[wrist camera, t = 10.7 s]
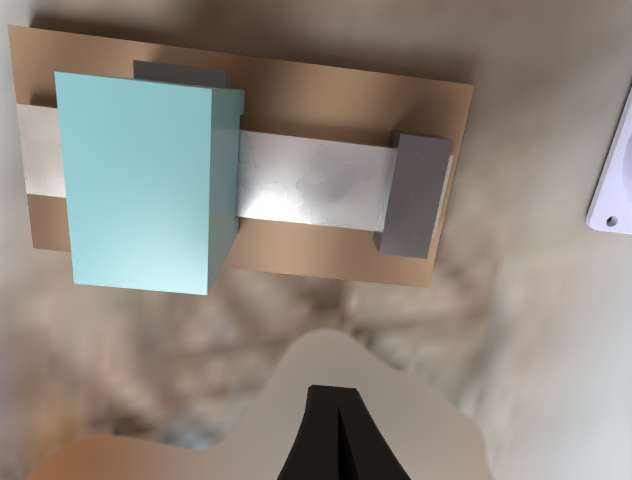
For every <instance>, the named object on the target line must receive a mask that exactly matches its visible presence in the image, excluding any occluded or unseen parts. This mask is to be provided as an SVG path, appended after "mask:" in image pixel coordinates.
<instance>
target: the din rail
mask: <svg viewBox="0 0 632 480" xmlns="http://www.w3.org/2000/svg"><path fill="white" fill-rule="evenodd" d="M16 106H17V114H18V123H19V132H20V140H21V149H22V158H23V167H24V175H25V184H26V193H27V194H36V195H45V196H54V197H64V198H66V191H65V180H64V169H63V159H62V148H61V138H60V127H59V116H58V106H50V105H41V104H33V103H20V104H16ZM452 143H453V140H450V139H447V138H444V137H441V136H437V135H429V134H421V133H413V132H405V131H396V130H391V135H390V141H389V146H385V145H377V144H368V143H360V142H352V141H343V140H335V139H327V138H318V137H310V136H301V135H293V134H285V133H276V132H268V131H259V130H251V129H243V128H239V148H238V171H237V193H236V216H240V217H249V218H259V219H268V220H277V221H286V222H296V223H305V224H314V225H324V226H333V227H342V228H351V229H361V230H370V231H374V234H373V242H374V244H375V246H376V249H377V251H378V253H379V254H383V255H393V256H402V257H412V258H421V259H427V256H428V252H429V247H430V243H431V238H432V237H435V236H436V231H437V227H438V222H439V218H440V214H441V209H442V205H443V200H444V196H445V191H446V187H447V182H448V178H449V174H450V169H451V165H452V160H453V155H451V154H450V153H451V148H452Z"/></svg>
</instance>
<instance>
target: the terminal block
mask: <svg viewBox="0 0 632 480" xmlns="http://www.w3.org/2000/svg"><path fill="white" fill-rule="evenodd" d="M54 74H55V85H56V95H57V106H58V116H59V127H60V138H61V148H62V159H63V169H64V180H65V191H66V201H67V212H68V222H69V233H70V243H71V254H72V265H73V275H74V283H76V284H87V285H99V286H110V287H122V288H133V289H145V290H156V291H167V292H179V293H190V294H202V295H207V294H208V292H209V290H210V288H211V286H212V284H213V282H214V280H215V278H216V276H217V274H218V272H219V270H220V268H221V266H222V264H223V262H224V260H225V258H226V256H227V254H228V252H229V250H230V248H231V246H232V244H233V242H234V240H235V238H236V236H237V234H238V226H239V216H236V193H237V171H238V148H239V126H240V115H242V114H244V100H245V90H238V89H230V71H226V70H217V69H209V68H200V67H191V66H183V65H174V64H165V63H157V62H148V61H139V60H133V74H134V78H127V77H115V76H103V75H91V74H79V73H67V72H55V71H54Z"/></svg>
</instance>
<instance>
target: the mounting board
mask: <svg viewBox="0 0 632 480" xmlns="http://www.w3.org/2000/svg"><path fill="white" fill-rule="evenodd" d="M8 31H9V40H10V48H11V57H12V66H13V75H14V83H15V92H16V101H17V104H20V103H33V104H41V105H50V106H57V95H56V85H55V74H54V71H55V72H67V73H79V74H91V75H103V76H115V77H127V78H134V74H133V60H139V61H148V62H157V63H165V64H174V65H183V66H191V67H200V68H209V69H217V70H226V71H230V89H238V90H245V100H244V114H242V115H240V126H239V128H243V129H251V130H259V131H268V132H276V133H285V134H293V135H301V136H310V137H318V138H327V139H335V140H343V141H352V142H360V143H368V144H377V145H385V146H389V141H390V135H391V130H396V131H405V132H413V133H421V134H429V135H437V136H441V137H444V138H447V139H450V140H453V143H452V148H451V153H450V154H451V155H453V160H452V165H451V169H450V174H449V178H448V182H447V187H446V191H445V196H444V200H443V205H442V209H441V214H440V218H439V222H438V227H437V231H436V236H435V237H432V238H431V243H430V247H429V252H428V256H427V259H421V258H412V257H402V256H393V255H383V254H379V253H378V251H377V249H376V246H375V244H374V242H373V234H374V231H370V230H361V229H351V228H342V227H333V226H324V225H314V224H305V223H296V222H286V221H277V220H268V219H259V218H249V217H240V216H239V226H238V234H237V236H236V238H235V240H234V242H233V244H232V246H231V248H230V250H229V252H228V254H227V256H226V258H225V260H224V262H223V264H222V266H221V267H225V268H235V269H245V270H255V271H264V272H274V273H284V274H294V275H304V276H314V277H324V278H334V279H344V280H354V281H364V282H374V283H383V284H393V285H403V286H413V287H423V288H428V287H429V283H430V278H431V274H432V270H433V265H434V261H435V256H436V252H437V248H438V243H439V239H440V235H441V230H442V226H443V222H444V217H445V213H446V208H447V204H448V200H449V195H450V191H451V187H452V182H453V178H454V174H455V169H456V165H457V160H458V156H459V152H460V147H461V143H462V139H463V134H464V130H465V126H466V121H467V117H468V112H469V108H470V104H471V99H472V95H473V91H474V86H475V85H472V84H464V83H456V82H448V81H441V80H433V79H425V78H417V77H410V76H402V75H394V74H386V73H378V72H371V71H363V70H355V69H347V68H340V67H332V66H324V65H316V64H309V63H301V62H293V61H285V60H278V59H270V58H262V57H254V56H246V55H239V54H231V53H223V52H215V51H208V50H200V49H192V48H184V47H177V46H169V45H161V44H153V43H145V42H138V41H130V40H122V39H114V38H107V37H99V36H91V35H83V34H76V33H68V32H60V31H52V30H44V29H37V28H29V27H21V26H13V25H8ZM27 197H28V205H29V214H30V223H31V231H32V240H33V248H36V249H46V250H56V251H66V252H71V243H70V233H69V222H68V212H67V201H66V198H64V197H54V196H45V195H36V194H27Z"/></svg>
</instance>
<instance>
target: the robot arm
mask: <svg viewBox="0 0 632 480" xmlns="http://www.w3.org/2000/svg"><path fill="white" fill-rule="evenodd" d="M611 216H612V220H611V221H610V223H608V224H606V221H607V219H608V218H609V217H611ZM586 223H587V225H588V226H589V227H590V228H593V229H595V230H600V231H609V232H618V233H627V234H632V87H631V90H630V93H629V96H628V99H627V102H626V105H625V108H624V111H623V113H622V116H621V119H620V122H619V125H618V128H617V131H616V134H615V136H614V139H613V142H612V145H611V148H610V151H609V154H608V157H607V160H606V162H605V165H604V168H603V171H602V174H601V177H600V180H599V183H598V185H597V188H596V191H595V194H594V197H593V200H592V203H591V206H590V209H589V211H588V214H587V217H586ZM277 480H411V479H410V477H409V476H408V475H407V473H406V472H405V471H404V469H403V467H402V466H401V465H400V463H399V462H398V460H397V459H396V457H395V456H394V454H393V452H392V451H391V449H390V448H389V446H388V444H387V443H386V441H385V440H384V438H383V436H382V435H381V433H380V431H379V430H378V428H377V426H376V425H375V423H374V421H373V419H372V417H371V415H370V414H369V412H368V410H367V408H366V406H365V404H364V402H363V400H362V398H361V396H360V394H359V392H358V391H357V389H356V388H344V387H333V386H320V385H312V386H310V387H309V388H308V393H307V401H306V408H305V413H304V416H303V420H302V423H301V425H300V428H299V431H298V434H297V437H296V439H295V442H294V444H293V447H292V449H291V451H290V453H289V455H288V458H287V460H286V462H285V464H284V466H283V468H282V470H281V472H280V474H279V476H278V479H277Z"/></svg>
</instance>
